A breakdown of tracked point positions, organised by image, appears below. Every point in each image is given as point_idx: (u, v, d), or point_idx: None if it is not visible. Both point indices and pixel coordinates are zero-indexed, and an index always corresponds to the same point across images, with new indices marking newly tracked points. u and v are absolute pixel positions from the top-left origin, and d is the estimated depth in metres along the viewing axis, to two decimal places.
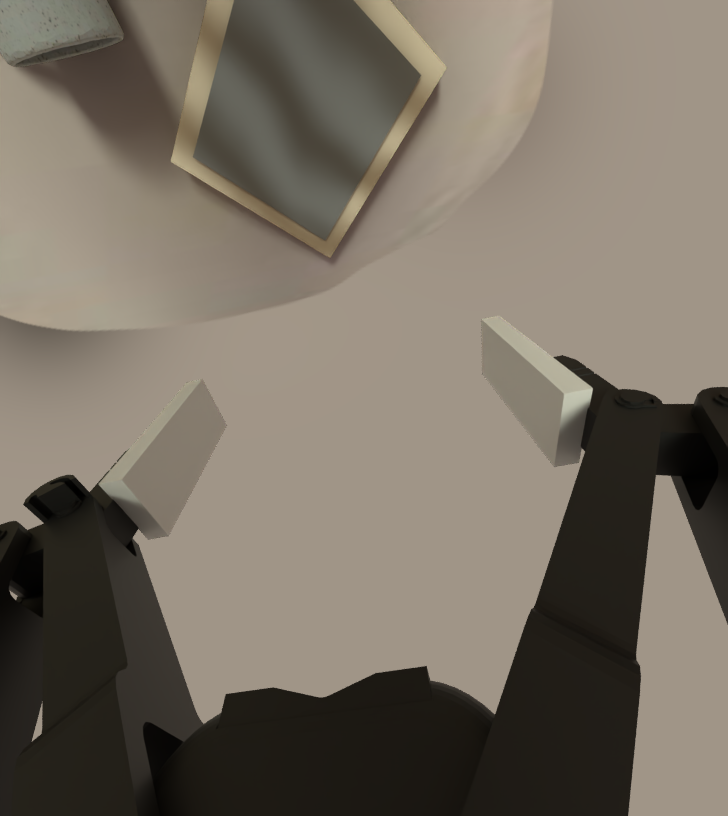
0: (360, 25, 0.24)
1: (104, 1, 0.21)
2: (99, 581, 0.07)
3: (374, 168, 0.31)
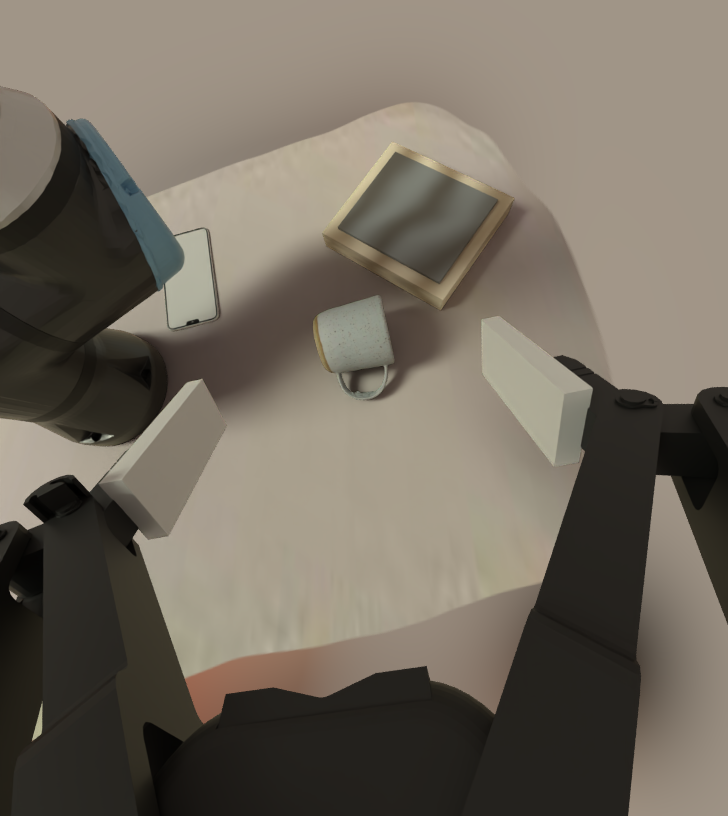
0: (376, 184, 0.43)
1: None
2: (99, 581, 0.07)
3: (444, 171, 0.42)
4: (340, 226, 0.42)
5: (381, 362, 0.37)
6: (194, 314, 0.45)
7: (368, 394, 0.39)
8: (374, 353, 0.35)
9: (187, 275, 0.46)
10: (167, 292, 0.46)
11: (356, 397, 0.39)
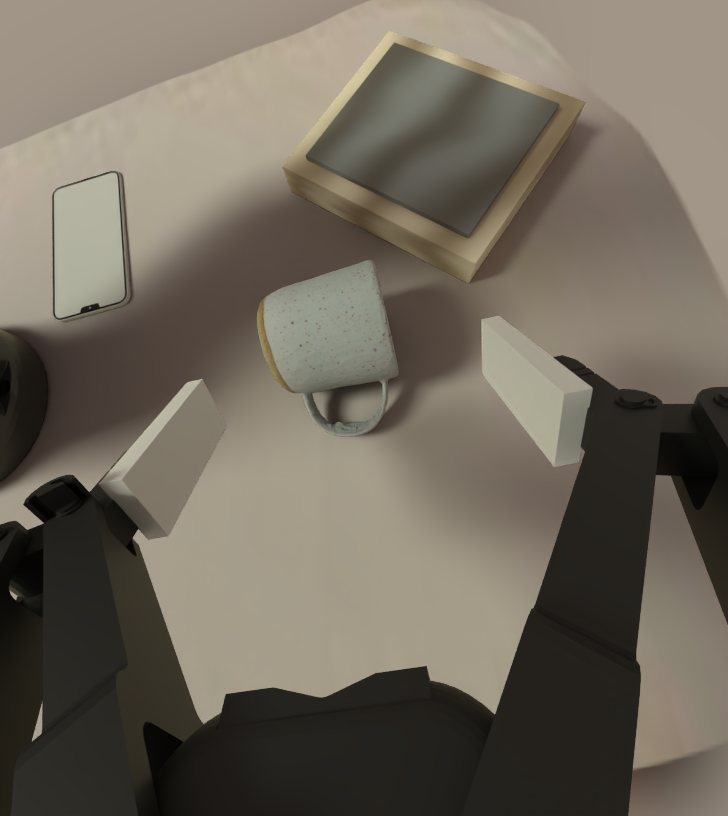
0: (364, 90, 0.27)
1: None
2: (99, 581, 0.07)
3: (470, 69, 0.27)
4: (309, 154, 0.27)
5: (376, 376, 0.21)
6: (93, 296, 0.30)
7: (356, 427, 0.24)
8: (364, 361, 0.20)
9: (86, 239, 0.31)
10: (56, 265, 0.31)
11: (336, 433, 0.24)
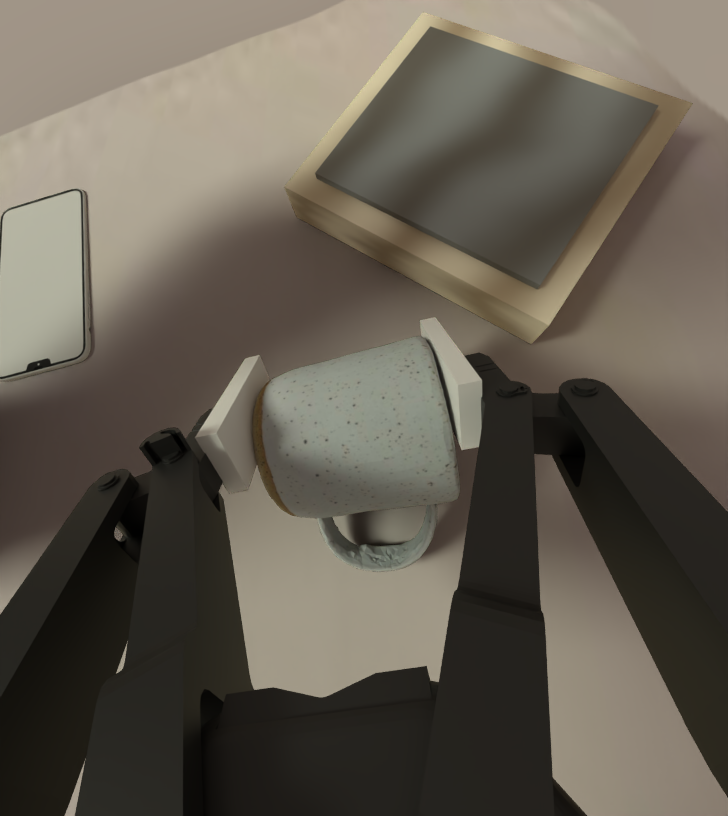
0: (392, 88, 0.21)
1: None
2: (186, 534, 0.08)
3: (531, 60, 0.21)
4: (320, 171, 0.20)
5: (425, 504, 0.15)
6: (43, 349, 0.23)
7: (389, 556, 0.17)
8: (412, 495, 0.13)
9: (39, 275, 0.25)
10: (0, 307, 0.25)
11: (362, 566, 0.17)
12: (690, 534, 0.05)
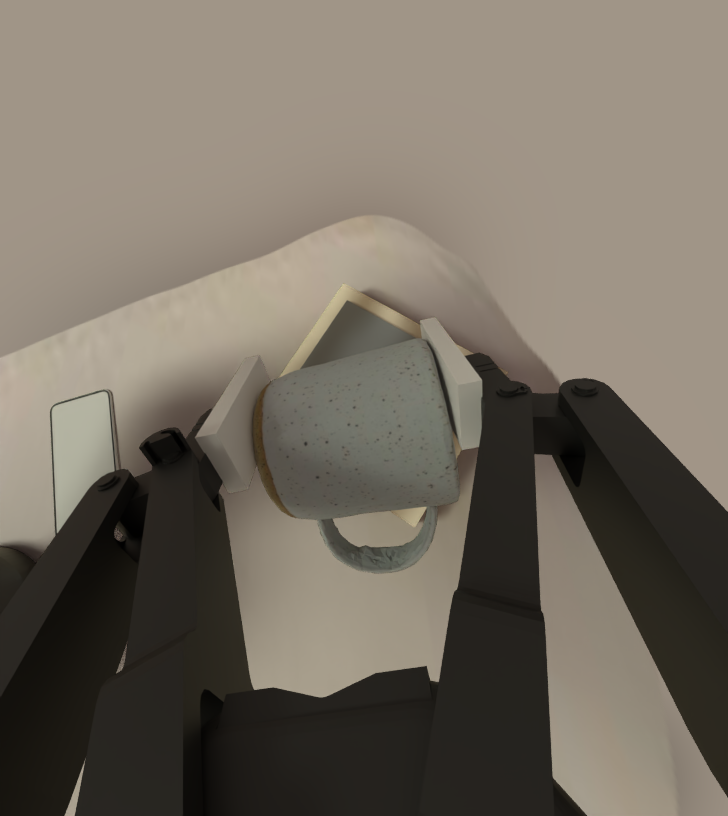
0: (321, 348, 0.32)
1: None
2: (185, 534, 0.08)
3: (412, 330, 0.31)
4: None
5: (425, 506, 0.15)
6: None
7: (389, 557, 0.17)
8: (412, 497, 0.13)
9: (82, 459, 0.35)
10: (56, 484, 0.35)
11: (362, 568, 0.17)
12: (690, 534, 0.05)
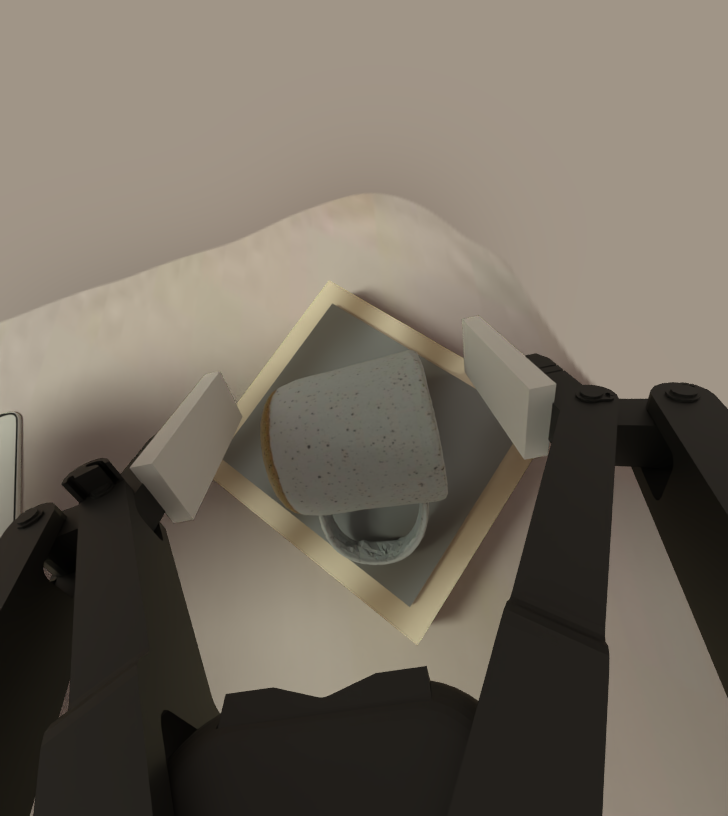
0: (294, 369, 0.23)
1: None
2: (127, 564, 0.07)
3: (422, 347, 0.22)
4: (224, 456, 0.22)
5: (417, 502, 0.16)
6: None
7: (385, 550, 0.19)
8: (405, 494, 0.15)
9: None
10: None
11: (360, 560, 0.18)
12: None
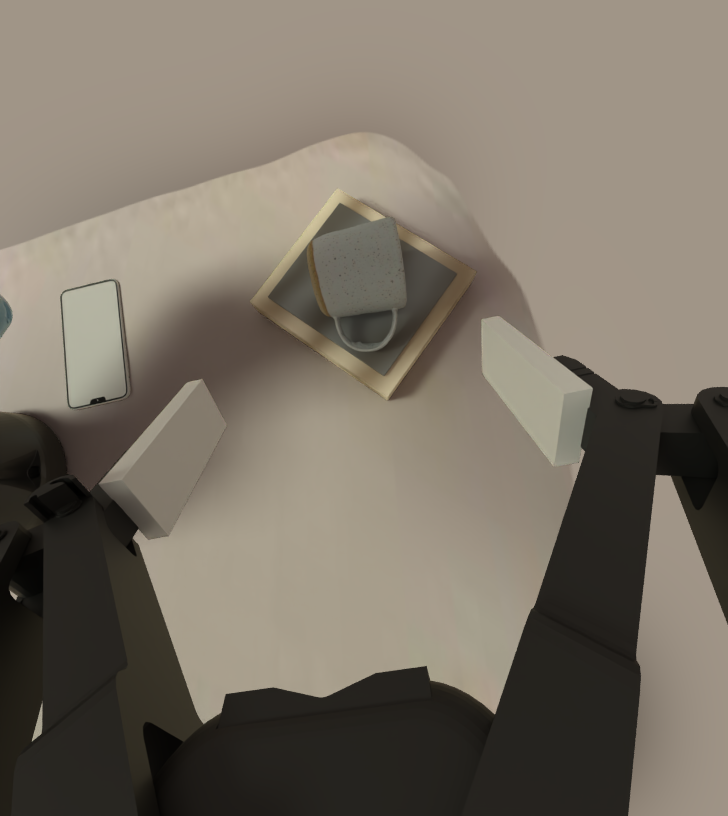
0: None
1: None
2: (99, 581, 0.07)
3: None
4: (270, 296, 0.35)
5: (390, 304, 0.30)
6: (100, 390, 0.38)
7: (372, 345, 0.32)
8: (384, 289, 0.28)
9: (92, 340, 0.39)
10: (68, 361, 0.38)
11: (357, 348, 0.32)
12: None
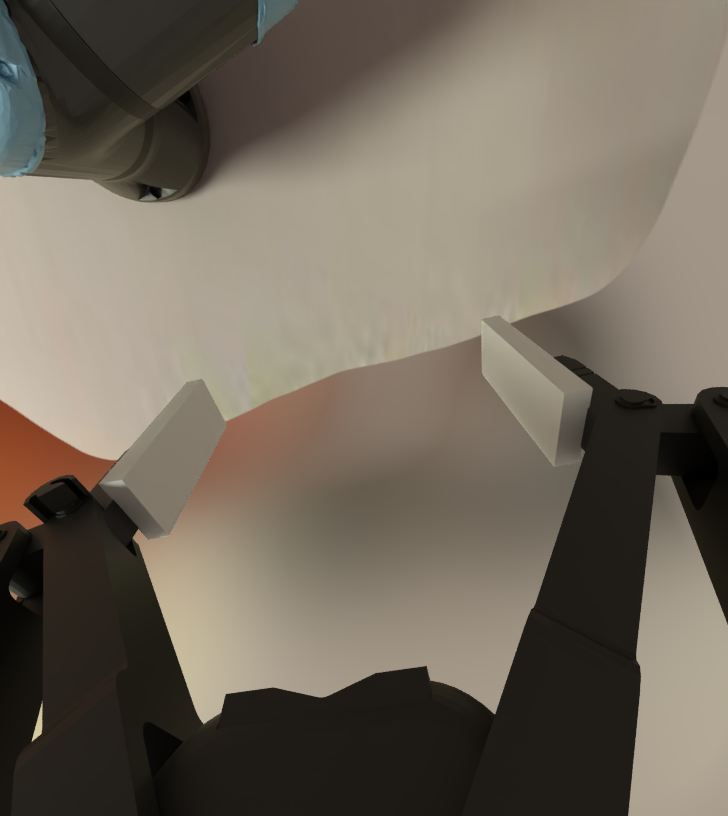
0: None
1: None
2: (99, 581, 0.07)
3: None
4: None
5: None
6: None
7: None
8: None
9: None
10: None
11: None
12: None
